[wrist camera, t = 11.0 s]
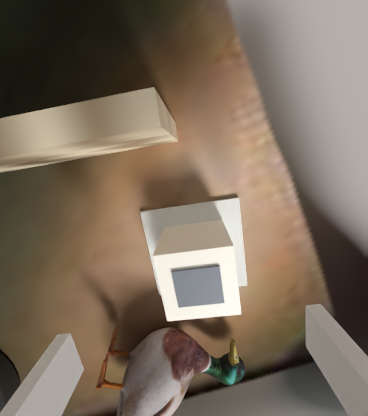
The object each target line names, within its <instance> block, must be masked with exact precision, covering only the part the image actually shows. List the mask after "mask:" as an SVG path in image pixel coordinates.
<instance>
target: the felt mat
mask: <svg viewBox="0 0 368 416" xmlns="http://www.w3.org/2000/svg"><path fill="white" fill-rule="evenodd" d="M140 214H141V218H142V222H143V227H144V231H145V235H146V240H147V244H148V249H149V253H150V257H151V262H152V266H153V270H154V275H155V279H156V284H157V288H158V292H159V295H161V292H160V287H159V283H158V278H157V274H156V270H155V265H154V261H153V253H154V251H155V249H156V246H157V244H158V241H159V239H160V237H161V234H162V232H163V229H164V227H171V226H178V225H185V224H192V223H199V222H206V221H214V220H221V219H222V220H223V222H224V225H225V227H226V229H227V231H228V234H229V236H230V238H231V241H232V243H233V245H234V253H235V262H236V271H237V280H238V287H239V286H247V277H246V266H245V256H244V245H243V234H242V224H241V213H240V203H239V197H236V198H229V199H222V200H215V201H208V202H202V203H195V204H188V205H181V206H174V207H167V208H161V209H154V210H147V211H141V212H140Z"/></svg>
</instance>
